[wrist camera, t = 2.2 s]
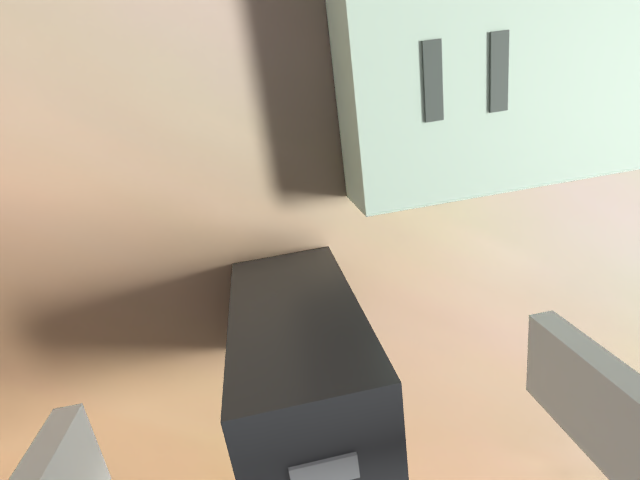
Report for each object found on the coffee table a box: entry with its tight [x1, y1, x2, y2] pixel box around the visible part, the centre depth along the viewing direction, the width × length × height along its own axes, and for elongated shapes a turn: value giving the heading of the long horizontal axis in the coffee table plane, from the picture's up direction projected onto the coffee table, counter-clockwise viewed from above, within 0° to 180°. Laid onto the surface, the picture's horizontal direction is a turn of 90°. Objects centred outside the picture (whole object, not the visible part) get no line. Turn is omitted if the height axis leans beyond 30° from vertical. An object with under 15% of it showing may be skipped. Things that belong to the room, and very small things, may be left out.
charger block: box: [221, 247, 409, 480], centre depth 14 cm, size 4×4×9 cm
